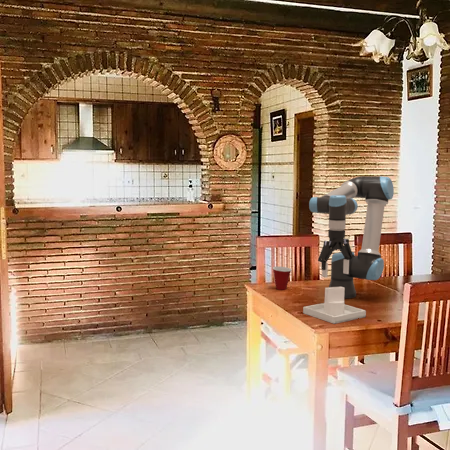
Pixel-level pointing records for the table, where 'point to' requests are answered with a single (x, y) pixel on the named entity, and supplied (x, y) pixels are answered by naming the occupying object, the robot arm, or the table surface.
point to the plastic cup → (281, 277)
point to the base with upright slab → (334, 301)
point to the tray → (348, 315)
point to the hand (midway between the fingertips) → (335, 275)
